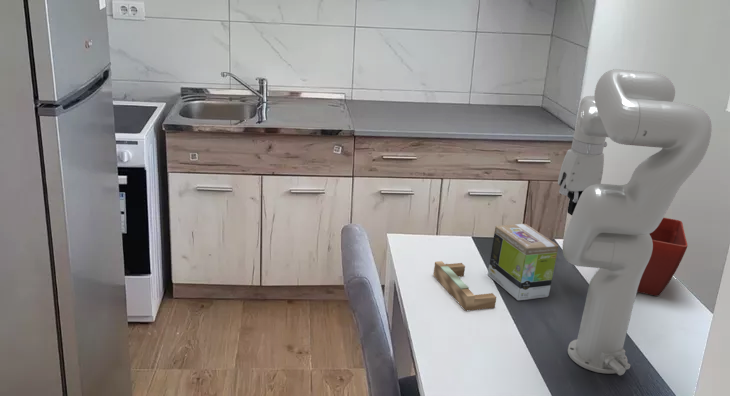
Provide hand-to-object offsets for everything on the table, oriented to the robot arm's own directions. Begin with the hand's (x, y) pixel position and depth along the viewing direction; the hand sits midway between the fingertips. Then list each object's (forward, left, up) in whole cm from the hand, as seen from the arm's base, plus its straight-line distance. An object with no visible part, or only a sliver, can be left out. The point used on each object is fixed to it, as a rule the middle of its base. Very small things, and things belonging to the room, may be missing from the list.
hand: (573, 214), depth 180 cm
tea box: (+1, +12, -20) cm, 24 cm away
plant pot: (-3, -22, -20) cm, 30 cm away
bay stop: (+1, +28, -20) cm, 35 cm away
